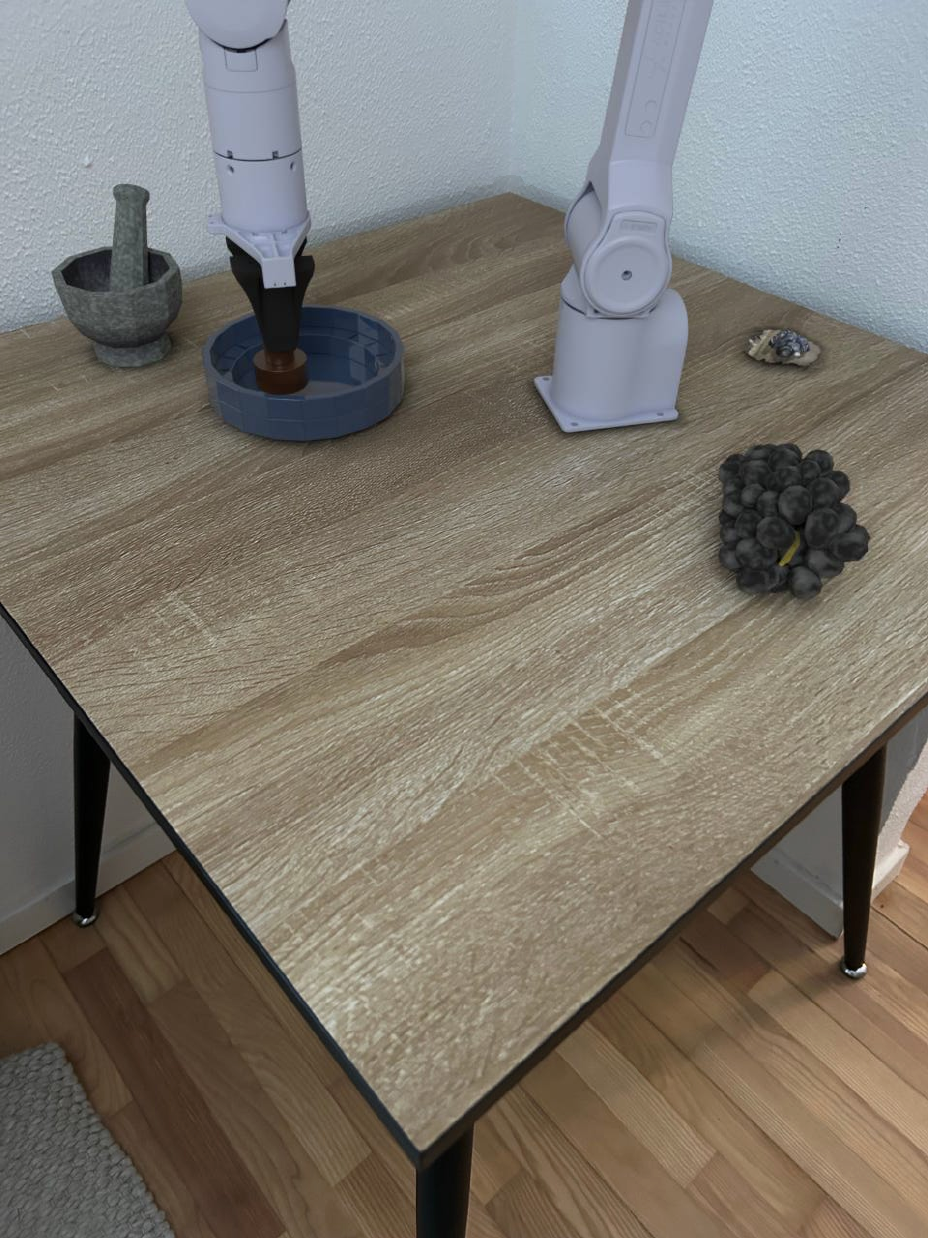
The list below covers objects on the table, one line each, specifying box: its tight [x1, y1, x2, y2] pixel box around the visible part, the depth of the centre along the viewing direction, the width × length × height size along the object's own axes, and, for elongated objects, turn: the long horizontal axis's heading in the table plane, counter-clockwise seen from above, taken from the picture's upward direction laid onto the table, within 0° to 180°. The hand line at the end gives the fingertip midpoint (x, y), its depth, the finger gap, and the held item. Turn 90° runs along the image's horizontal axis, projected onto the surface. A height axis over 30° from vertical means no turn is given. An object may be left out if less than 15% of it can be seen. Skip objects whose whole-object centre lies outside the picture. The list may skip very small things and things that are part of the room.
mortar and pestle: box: [50, 183, 183, 368], centre depth 79 cm, size 11×9×12 cm
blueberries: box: [743, 328, 822, 367], centre depth 84 cm, size 7×8×2 cm
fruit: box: [717, 442, 871, 601], centre depth 62 cm, size 9×8×15 cm
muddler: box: [253, 342, 309, 395], centre depth 72 cm, size 4×4×9 cm
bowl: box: [201, 303, 406, 442], centre depth 76 cm, size 15×15×4 cm
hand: (279, 340), depth 73 cm, fingers closed on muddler, 2 cm apart
